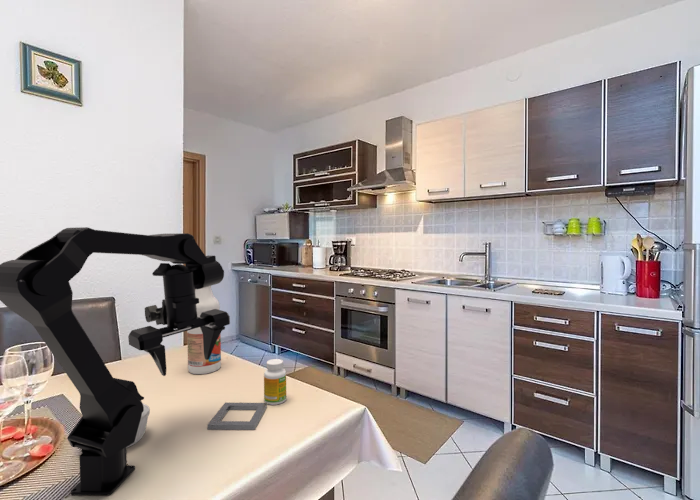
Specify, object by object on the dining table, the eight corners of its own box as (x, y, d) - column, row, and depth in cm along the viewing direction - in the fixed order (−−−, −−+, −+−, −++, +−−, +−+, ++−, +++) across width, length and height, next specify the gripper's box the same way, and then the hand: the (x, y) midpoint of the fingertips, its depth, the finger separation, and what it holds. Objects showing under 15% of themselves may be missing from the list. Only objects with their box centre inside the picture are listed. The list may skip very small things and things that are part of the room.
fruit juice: (191, 365, 112) (189, 277, 111) (222, 362, 114) (221, 276, 113) (184, 376, 103) (183, 280, 102) (219, 373, 105) (217, 279, 104)
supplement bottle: (281, 406, 84) (280, 366, 84) (260, 404, 85) (259, 364, 85) (289, 396, 89) (289, 358, 89) (269, 394, 90) (269, 357, 90)
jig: (254, 429, 74) (254, 425, 74) (207, 429, 74) (207, 424, 74) (266, 406, 84) (266, 402, 84) (225, 406, 84) (225, 402, 84)
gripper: (202, 282, 85) (207, 344, 86) (113, 298, 70) (121, 373, 72) (229, 287, 78) (233, 355, 79) (136, 306, 63) (145, 389, 65)
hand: (186, 366), depth 74 cm, fingers open, 9 cm apart
